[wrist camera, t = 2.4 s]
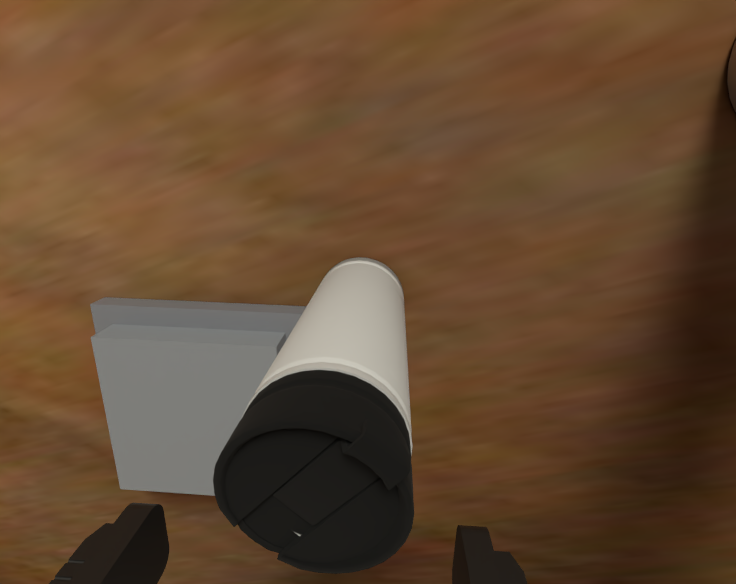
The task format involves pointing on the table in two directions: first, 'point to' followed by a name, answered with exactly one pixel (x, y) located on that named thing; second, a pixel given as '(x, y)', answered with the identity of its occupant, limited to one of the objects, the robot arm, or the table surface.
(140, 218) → the table surface
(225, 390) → the slate plinth
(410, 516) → the travel mug
